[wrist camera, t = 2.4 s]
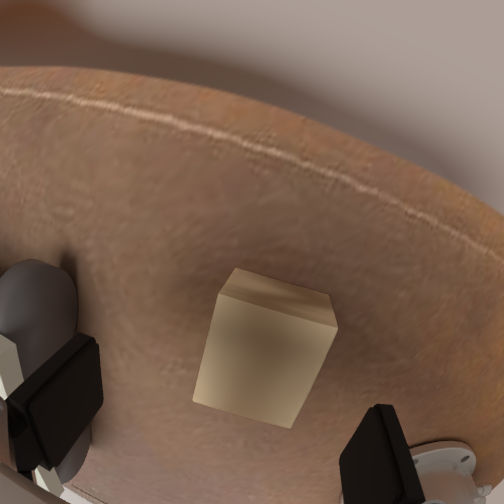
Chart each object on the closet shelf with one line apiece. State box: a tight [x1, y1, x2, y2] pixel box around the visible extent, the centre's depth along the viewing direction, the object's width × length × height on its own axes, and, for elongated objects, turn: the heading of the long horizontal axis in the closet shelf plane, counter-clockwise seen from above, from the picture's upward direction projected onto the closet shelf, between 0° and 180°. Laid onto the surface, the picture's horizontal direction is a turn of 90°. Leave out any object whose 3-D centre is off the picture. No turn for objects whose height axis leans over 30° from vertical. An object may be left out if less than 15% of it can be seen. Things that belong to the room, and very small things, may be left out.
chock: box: [192, 267, 338, 428], centre depth 15 cm, size 5×6×4 cm
